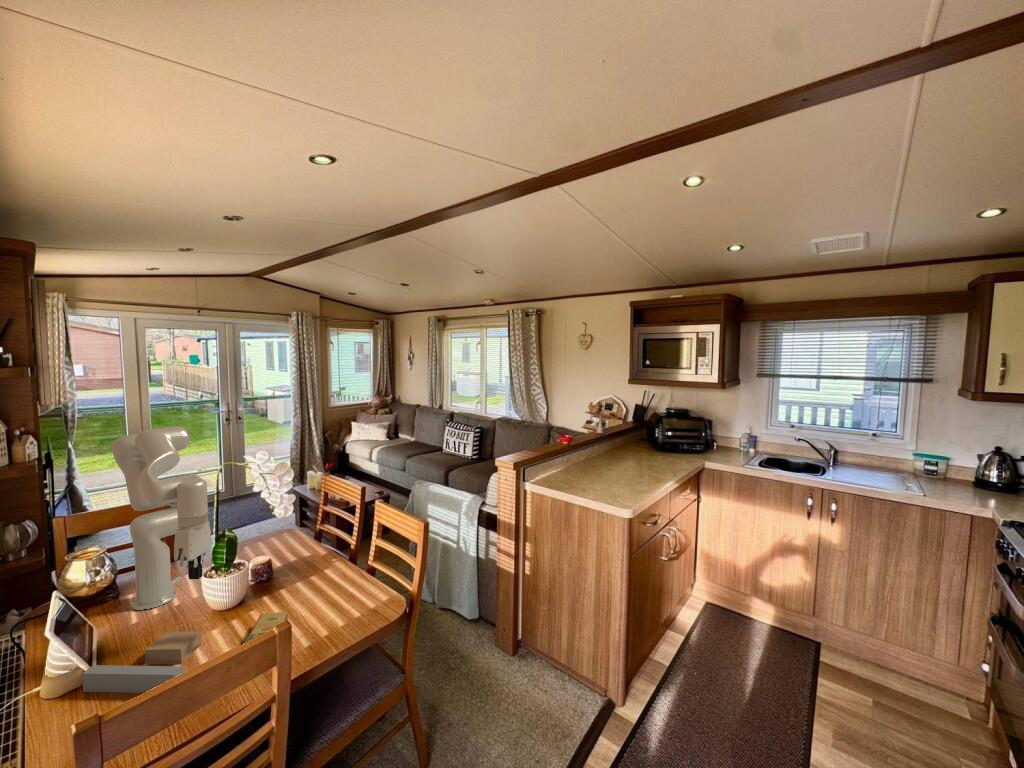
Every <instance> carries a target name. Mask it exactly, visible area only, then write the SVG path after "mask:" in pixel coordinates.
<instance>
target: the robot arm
mask: <svg viewBox="0 0 1024 768" xmlns="http://www.w3.org/2000/svg"><path fill="white" fill-rule="evenodd" d="M190 440H191V439H190V433H189V432H188V430H186V429H185V427H182V426H179V425H178V426H177V425H176V426H165V427H155V428H150V429H145V430H143V431H141V432H139V433H134V434H127V435H124V436H121V437H118V438H116V439H115V440H114V442H113V443H112V448H111V449H112V455H113V458H114V461H115V463H116V464H117V466H118V468H119V469H120V471H121V472H122V474H123V476H124V479H125V483H126V484H125V486H126V489H127V494H128V498H129V499H128V500H129V503H130V506H131V508H132V509H133V510H134V511H136V512H142V511H147V510H153V509H157V508H162V507H167V506H170V508H165V509H161V510H160V509H159V510H156V511H153V512H149V513H144V514H142V515H139V516H137V517H135V518H134V519H133V520H132V521H131V522H130V524H129V534H130V538H131V540H132V545H133V552H134V553H133V554H134V568H135V569H134V574H135V591H136V592H135V593H136V594H135V595H136V597H135V598H134V599H133V600H132V601H131V602H130V608H131V609H132V610H134V611H135V610H136V611H144V609H147V610H151V609H150V608H152V609H155V608H158V607H161V606H164V605H165V604H167V603H170V602H171V601H173V600H174V599H175V598H176V597H177V595H178V592H177V589H176V588H174V587H175V585H177V584H178V583H180V582H181V580H182V579H181V577H180V576H176V577H175V578H173V579H172V576H171V575H172V573H171V570H172V569H171V551H170V550H171V549H170V546H168V544H167V543H165V542H164V541H162V539H163V538H166V537H170V536H173V535H175V536H174V540H173V542H174V544H173V560H174V561H175V562H179V565H178V566H179V568H182V567H183V568H185V567H186V568H187V569H188V570H187V572H188V576H187V577H188V580H199V579H200V578H202V577H203V575H204V574H203V564H204V561H205V557H206V555H207V554H208V553H209V552H210V549H211V548H212V544H213V543H212V531H211V525H210V521H209V510H208V509H209V507H208V502H209V501H208V484H207V481H206V480H205V479H203V478H202V477H200V476H199V475H198V474H195V473H193V474H191V473H190V474H185V475H180V476H179V475H178V476H174V477H168V478H162V479H158V477H160V476H162V475H164V474H165V473H167V472H169V471H171V470H172V469H174V468H175V467H176V466H177V465H178V464H179V462H180V459H181V456H180V453H179V451H183V450H185V449H187V447H188V446H189V444H190ZM172 599H173V600H172ZM163 604H164V605H163ZM154 607H155V608H154Z"/></svg>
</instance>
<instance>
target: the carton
mask: <svg viewBox="0 0 1024 768" xmlns="http://www.w3.org/2000/svg"><path fill="white" fill-rule="evenodd" d="M288 616H289V614H288V611H281V612H280V611H279V612H271V613H262V614H260V615H259V617H258V618H257V620H256V622H255V624H254V626H253V627H252V629H251V631H250V633H249V634H248V636H247V637H246V640H245V641H244V643H246V642H248V641H250V640H252V639H254V638H256V637H258V636H260V635H262V634H264V633H266V632H267V631H269V630H271V629H273V628H274V627H275V626H276V625H277V624H279V623H281V622H283V621H287V620H288V619H289V618H288ZM288 621H289V620H288Z"/></svg>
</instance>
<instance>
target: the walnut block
mask: <svg viewBox="0 0 1024 768" xmlns="http://www.w3.org/2000/svg"><path fill="white" fill-rule="evenodd" d="M200 646H202V631H201V630H200V631H198V630H195V631H190V630H189V631H188V630H187V631H166V632H165V633H163V634H162V635H161V636H160V637H158V638H157V639H156V640H155V641H154V642H153V643H151V644H150V645H148V647H146V648H145V649H144V664H145V665H173V664H174V665H176V664H177V665H179V664H183V663H184V662H185V661H186V660H187V659H189V657H190V656H192V655H193V653H194V652H195V651H196V650H198V649H199V648H200Z"/></svg>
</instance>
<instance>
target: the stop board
mask: <svg viewBox="0 0 1024 768" xmlns="http://www.w3.org/2000/svg"><path fill="white" fill-rule="evenodd" d="M184 669H185V667H184V666H181V665H180V666H179V665H178V666H177V665H175V666H171V665H168V666H167V665H163V666H162V665H116V664H115V665H111V664H110V665H108V664H98V665H97V664H93V665H92V666H91V667H89V668H87V669H86V670H85V671H84V672H82V674H81V675H82V677H81V678H82V692H83V693H115V694H116V693H117V694H118V693H121V694H122V693H124V694H127V693H128V694H132V693H133V694H139V693H140V694H145V693H144V692H146V691H148V690H150V689H152V688H154V687H156V686H158V685H160V684H162V683H164V682H165V681H167V680H169V679H172V678H174V677H176V676H178V675H180V674H182V673H184V672H185V671H184ZM184 674H185V673H184Z"/></svg>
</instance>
